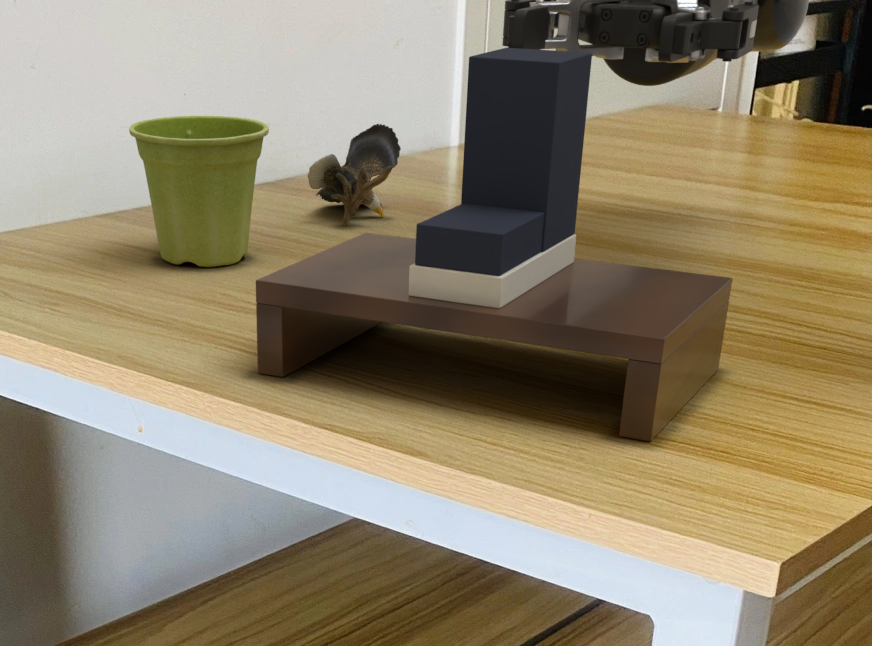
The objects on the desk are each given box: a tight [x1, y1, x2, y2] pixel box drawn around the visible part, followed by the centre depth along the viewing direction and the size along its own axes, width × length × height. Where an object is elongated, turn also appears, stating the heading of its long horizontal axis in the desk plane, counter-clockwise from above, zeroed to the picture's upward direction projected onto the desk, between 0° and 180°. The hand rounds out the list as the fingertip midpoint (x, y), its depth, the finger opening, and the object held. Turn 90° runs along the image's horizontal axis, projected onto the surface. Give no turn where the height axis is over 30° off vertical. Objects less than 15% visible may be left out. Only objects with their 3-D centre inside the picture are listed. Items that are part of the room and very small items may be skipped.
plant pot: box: [128, 115, 270, 268], centre depth 95 cm, size 9×9×9 cm
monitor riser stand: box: [255, 232, 733, 442], centre depth 74 cm, size 22×13×5 cm, turn 62°
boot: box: [409, 47, 593, 308], centre depth 70 cm, size 11×5×10 cm, turn 152°
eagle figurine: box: [307, 123, 402, 227], centre depth 108 cm, size 8×7×9 cm
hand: (591, 36), depth 76 cm, fingers open, 8 cm apart
